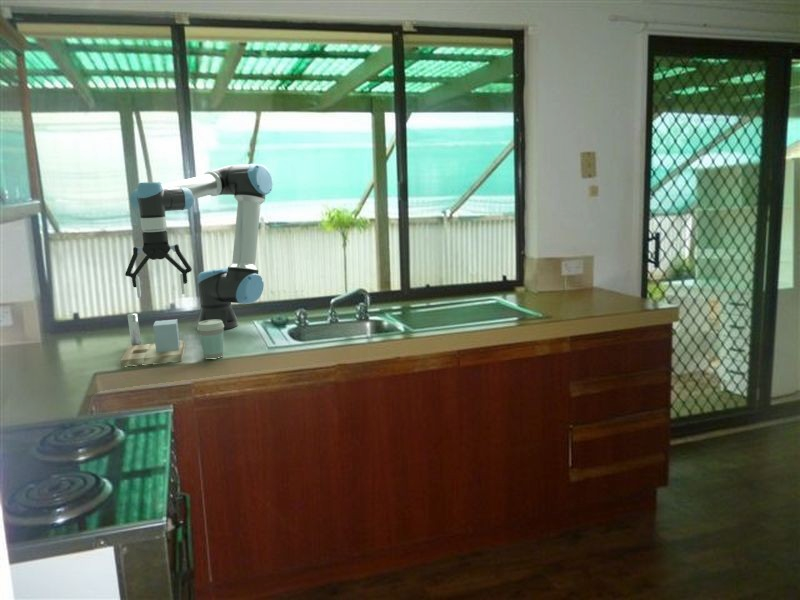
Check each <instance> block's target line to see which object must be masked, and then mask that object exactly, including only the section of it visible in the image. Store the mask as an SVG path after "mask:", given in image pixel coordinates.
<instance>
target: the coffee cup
mask: <svg viewBox="0 0 800 600" xmlns="http://www.w3.org/2000/svg"><path fill="white" fill-rule="evenodd" d="M196 328H197V329H196V330H197V331H198V334H199V339H200V344H201V348H202V351H203V352H202V353H203V356H204V359H205V358H218V357H221V356H224V324H223V322H222V320H216V319H214V320H205V321H201V322H199V323H198V322H197V327H196Z"/></svg>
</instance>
